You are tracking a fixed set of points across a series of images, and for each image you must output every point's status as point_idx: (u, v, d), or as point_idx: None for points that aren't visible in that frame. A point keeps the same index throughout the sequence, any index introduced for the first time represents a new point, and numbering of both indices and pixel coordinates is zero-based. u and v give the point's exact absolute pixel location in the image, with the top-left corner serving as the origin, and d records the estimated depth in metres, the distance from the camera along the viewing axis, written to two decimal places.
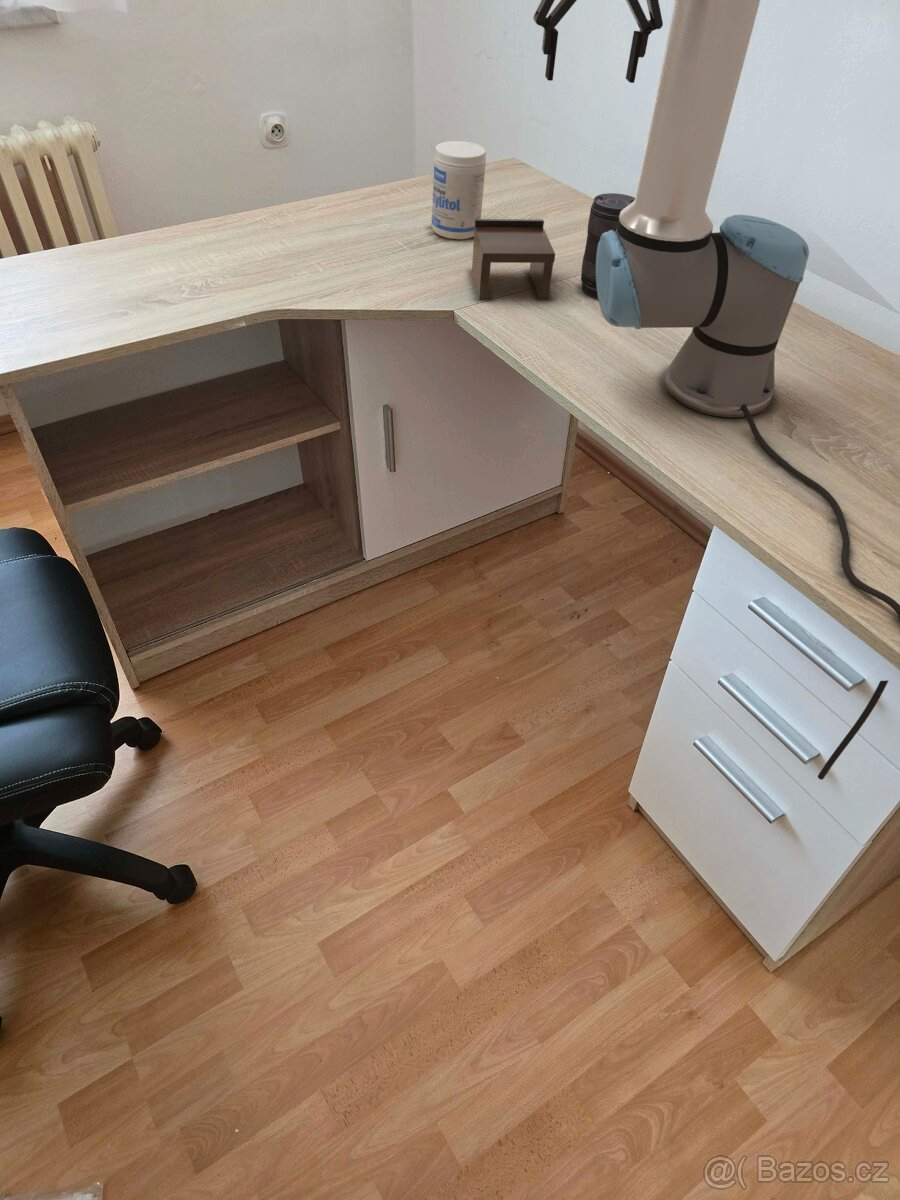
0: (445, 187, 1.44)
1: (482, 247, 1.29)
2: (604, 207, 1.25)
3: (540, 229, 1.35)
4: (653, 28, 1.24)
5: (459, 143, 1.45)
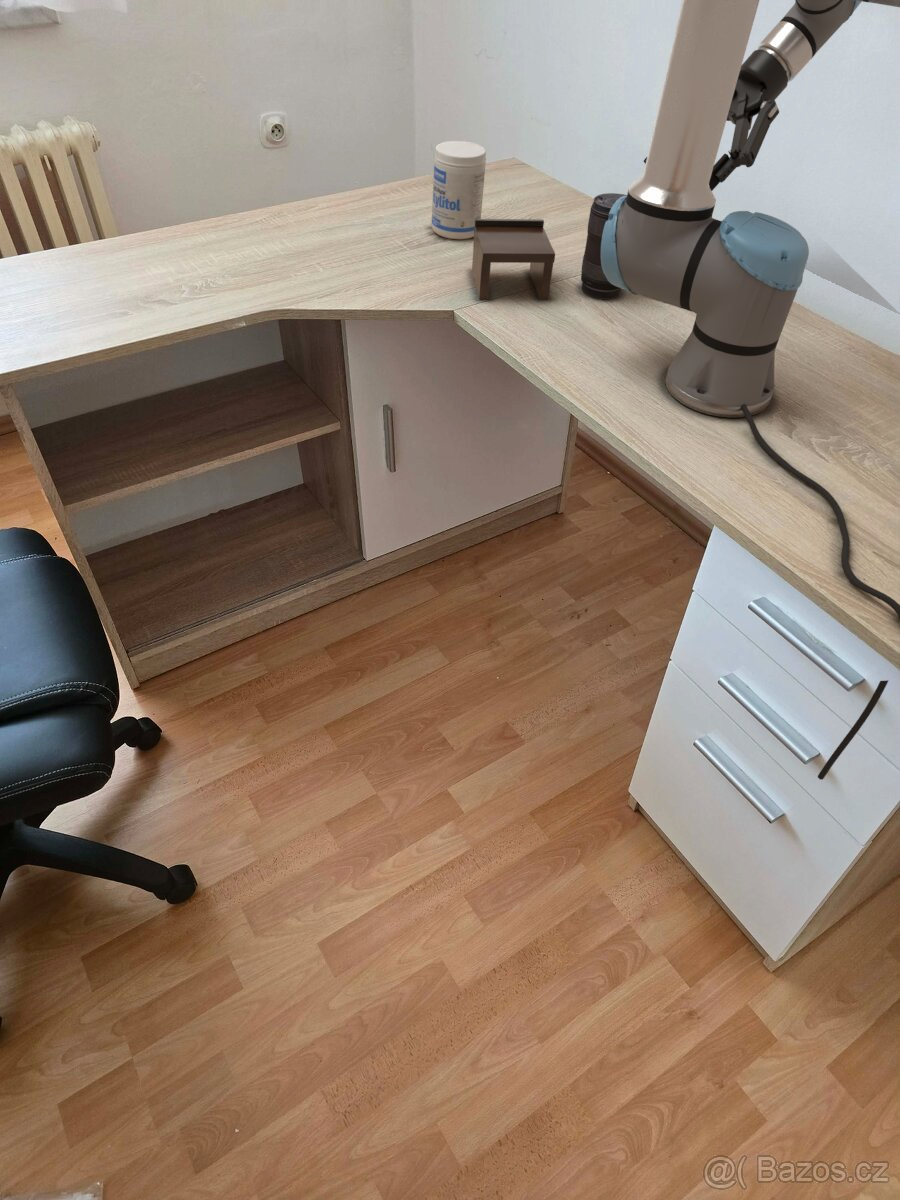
0: (445, 187, 1.44)
1: (482, 247, 1.29)
2: (604, 207, 1.25)
3: (540, 229, 1.35)
4: (740, 157, 1.21)
5: (459, 143, 1.45)
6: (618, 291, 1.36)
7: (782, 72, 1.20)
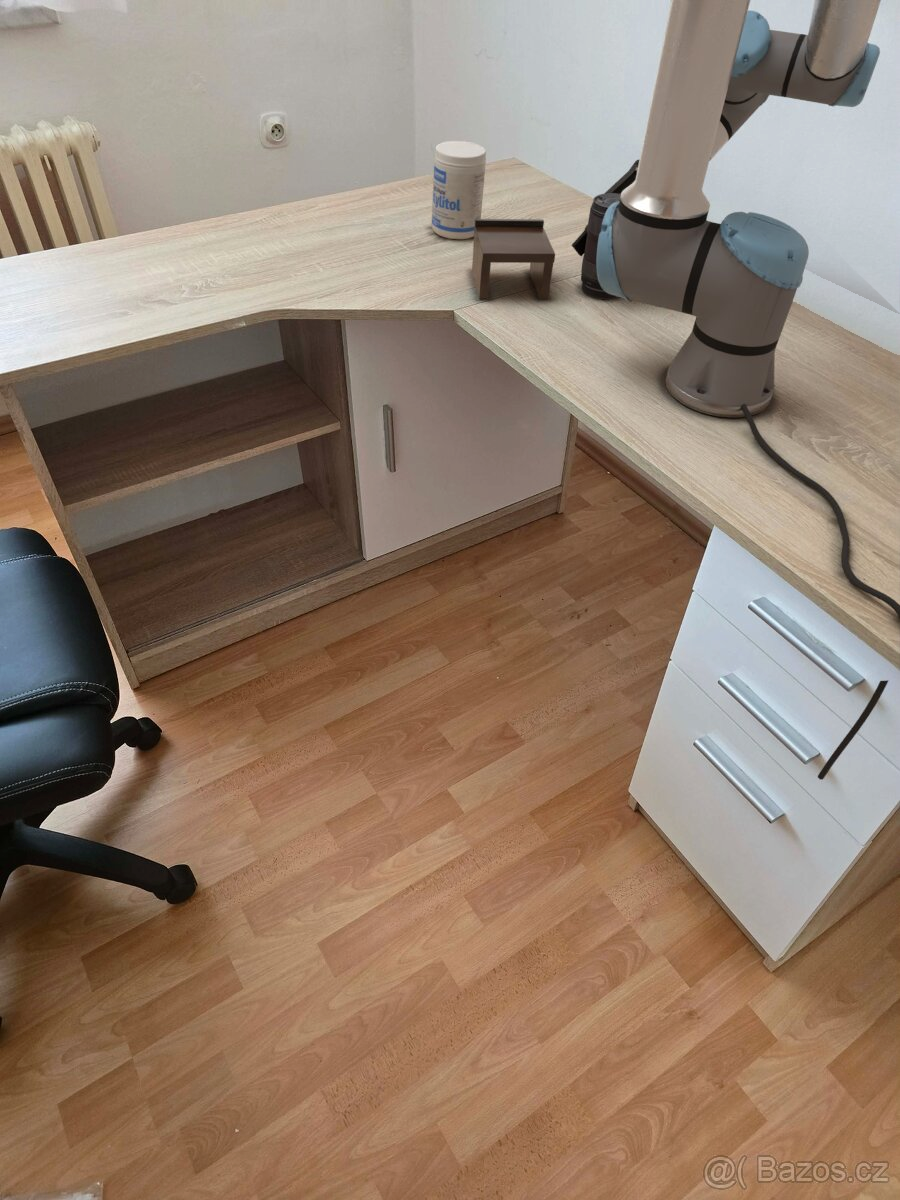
0: (445, 187, 1.44)
1: (482, 247, 1.29)
2: (604, 207, 1.25)
3: (540, 229, 1.35)
4: None
5: (459, 143, 1.45)
6: None
7: None
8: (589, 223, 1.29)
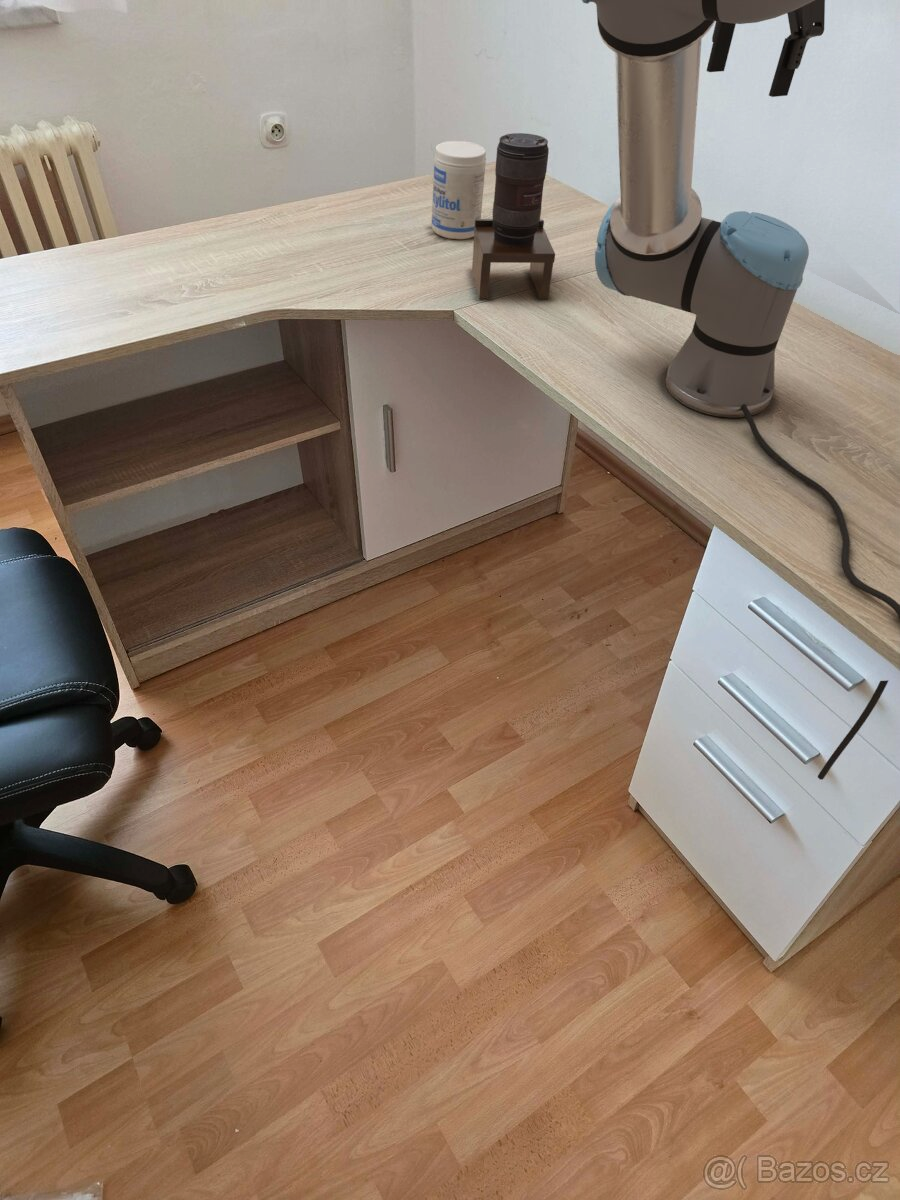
0: (445, 187, 1.44)
1: (482, 247, 1.29)
2: (508, 145, 1.19)
3: (540, 229, 1.35)
4: (804, 35, 1.01)
5: (459, 143, 1.45)
6: (531, 238, 1.30)
7: None
8: (496, 164, 1.23)
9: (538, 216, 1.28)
